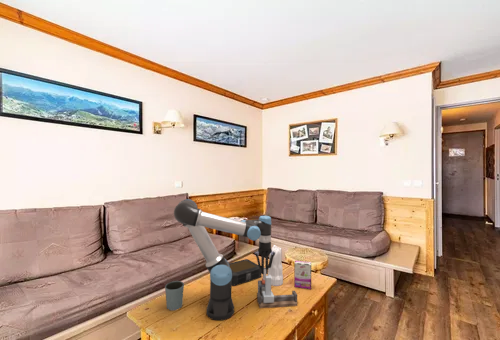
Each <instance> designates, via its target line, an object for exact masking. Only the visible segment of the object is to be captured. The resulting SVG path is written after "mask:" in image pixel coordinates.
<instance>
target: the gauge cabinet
mask: <svg viewBox="0 0 500 340" xmlns="http://www.w3.org/2000/svg"><path fill="white" fill-rule="evenodd" d="M262 291H265V284H262V279H261V280H259V279H258V280H257V293H258V292H260V295H261V296H262Z"/></svg>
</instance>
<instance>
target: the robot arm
mask: <svg viewBox="0 0 500 340" xmlns="http://www.w3.org/2000/svg"><path fill="white" fill-rule="evenodd" d="M173 216H174V219H175V220H176V221H177V222H178V223H180V224H182V225H183V227H185V228H187V229H188V231H189V233H190V235H191V237H192V239H194V242H195V244H196V246H197V247H198V249H199V251H200V253H201V255H202V256H203V258H204V260H205V261H206V263H205V267H206V269H207V271H208V272H209V279H210V281H209V283H210V285H209V299H208V300H209V301H208V303H207V305H206V306H207V307H206V315H207V318H209V319H211V320H214V321H224V320H225V321H226V320H228V319H230V318H232V317H233V315H234V314H235V304H234V300H233V298H232V271H231V268H230V266H229V263H230V262H229V261H228V260H227V259H226V258H225V257H224V255H223V254H222V253H220V252H219V251H218V249H217V247H216V246H215V244H214V242H213V239H212V238H211V236H210V235H209V232H208V231H207V229H206V228H208V229H212V230H216V231H221V232H224V233H228V234H233V235H237V236H241V237H245V238H248V239H249V240H250V241H257V240H258V250H257V251H255V252H254V255H255V257H256V261H257V265H258V266H259V268H261V273H262V278H263V280H265V276H267V275H268V268H271V265H272V261H273V257H274V255H275V252H274V251H272V250H271V249H272V224H273V223H272V217H271V216H269V215H260V216H259V217H258V219H243V220H237V219H234V218H228V217H225V216H222V215H218V214H214V213H210V212H205V211H203V210H202V209H201V208H198V205H197V203H196V202H195V201H194V200H192V199H188V198H187V199H183V200H181V201H179V203H178V204H177V205H176V206H175V207H174V209H173ZM270 253H271V256H270ZM259 255H260V256H261V261H260V257H259ZM269 259H270V260H269Z"/></svg>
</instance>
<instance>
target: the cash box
mask: <svg viewBox="0 0 500 340" xmlns="http://www.w3.org/2000/svg"><path fill="white" fill-rule="evenodd" d="M228 263H229V266H230V268H231V271H232V286H233V287H236V286H239V285H242V284H244V283H248V282H251V281H253V280H256V279H258V280H259V279H260V278H261V279H262V277H263V274H262V273H261V268H259V266H258V263H255V262H254V261H252V260H250V259H248V258H245V259H240V260H237V261H233V262H228Z"/></svg>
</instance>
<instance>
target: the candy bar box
mask: <svg viewBox="0 0 500 340" xmlns="http://www.w3.org/2000/svg"><path fill="white" fill-rule="evenodd" d="M293 265H294V268H293V270H294V277H293V280H294V281H293V282H294V283H293V286H294V288H296V289H305V290H311V289H312V261H302V260H301V261H300V260H294V264H293Z"/></svg>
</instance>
